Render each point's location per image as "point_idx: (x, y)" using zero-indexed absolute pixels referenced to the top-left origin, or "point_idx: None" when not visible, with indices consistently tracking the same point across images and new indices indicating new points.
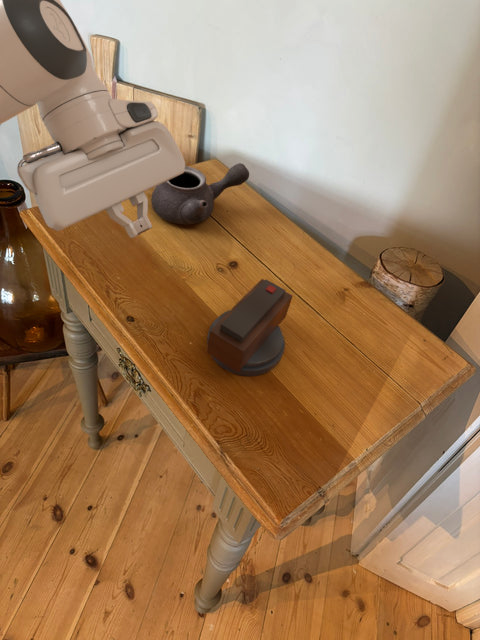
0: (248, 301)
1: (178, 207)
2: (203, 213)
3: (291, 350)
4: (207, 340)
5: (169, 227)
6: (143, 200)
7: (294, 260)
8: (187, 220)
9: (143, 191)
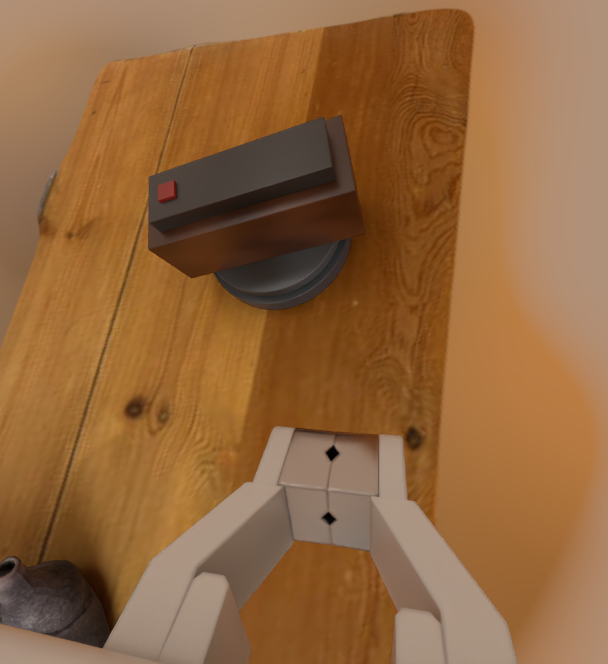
0: (230, 189)
1: None
2: (39, 566)
3: None
4: (328, 282)
5: None
6: (181, 578)
7: (57, 337)
8: (82, 591)
9: (101, 651)
